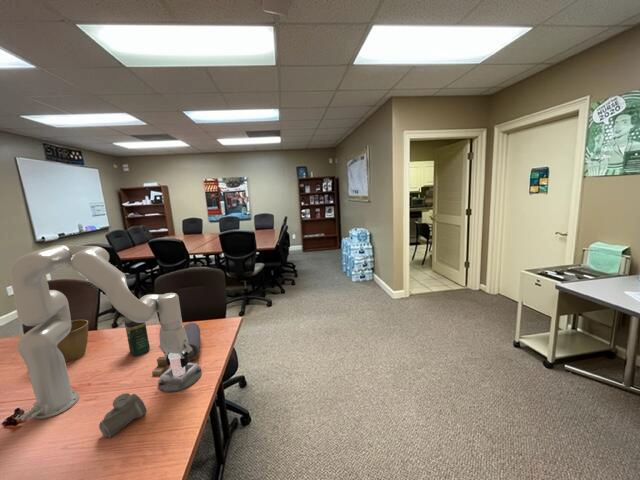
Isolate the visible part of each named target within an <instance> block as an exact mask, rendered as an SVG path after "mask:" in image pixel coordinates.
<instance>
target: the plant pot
mask: <svg viewBox="0 0 640 480" xmlns="http://www.w3.org/2000/svg"><path fill="white" fill-rule="evenodd" d="M88 338H89V320H86V319H75V320H71V331H70V333H69V334H68V335H67V336H66V337H65V338H64V339H63V340H62V341H60V342H59V343H58V344H57V348H58V349H59V350H60V351H61V352H62V354H63V356H64V359H65V362H72V361H76V360H78V359H80V358H82V357H83V356H84V355H85V354H86V351H87V347H88V340H89V339H88Z"/></svg>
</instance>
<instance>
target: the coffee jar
mask: <svg viewBox="0 0 640 480" xmlns="http://www.w3.org/2000/svg"><path fill="white" fill-rule="evenodd" d="M123 321H124V326H125V332H126V337H127V342H128V348H129V353H130V354H131V356H134V357H135V356H141V355H143V354H146V353H147V352H148V351H150V349H151V348H150V341H149V336H148V329H147V324H146V323H147V322H144V323H137V322H134V321H132V320H130V319H128V318H127V317H125V318H124V320H123Z"/></svg>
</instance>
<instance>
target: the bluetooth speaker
mask: <svg viewBox="0 0 640 480" xmlns="http://www.w3.org/2000/svg"><path fill="white" fill-rule="evenodd" d="M183 326H184V328H185V331H186V335H187V339H188V344H189V345H190V346H191V347H192V351H191V352H190V353H189V354H188V355H187V358H188V362H190V361H193V360H194V359H196V358H197V356H198V354H199V352H200V346H201V338H202V337H201V328H200V326H199V324H197V323H196V322H189V323H187V324H185V325H183ZM186 350H187V349H186Z"/></svg>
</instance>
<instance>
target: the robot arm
mask: <svg viewBox="0 0 640 480" xmlns="http://www.w3.org/2000/svg"><path fill="white" fill-rule="evenodd" d="M109 261H110V253H109V252H108V251H107V250H106V249H105V248H103V247H100V246H99V245H98V246H97V245H74V244H73V245H72V244H57V245H52V246H49V247H45V248H42V249H37V250H35V251H32V252H29V253H27V254H24V255H22V256H20V257H18V258H17V259H16V260H15V261H13V262H12V264H11V265H10V268H9V271H8V272H9V273H8V276H9V279H10V283H11V286H12V290H13V297H14V304H15V309H16V314H17V319H18V320H19V321H18V322H20V324H22V325H24V326H26V327H32V328H31V329H29V330H28V331H27V332H25V333H24V334H23V335H22V336H21V337H20V339H19V340H18V343H17V351H18V353H19V354H20V357H21V358H22V359H23V362H24V363H25V366H26V369H27V373H28V376H29V379H30V382H31V386H32V390H33V394H34V397H35V400H36V401H35V402H34V403H33V404H32V408H30V409H29V410H28V411H26V412H24V413H23V414H21V415H20V416H19V418H20V420H21V421H23V422H24V421H25V420H27V419H29V418H30V419H34V418H35V419H38V420H40V419H42V420H43V419H47V418H51V417H55V416H57V415H59V414H62V413H64V412H65V411H67V410H69V409H70V408H72V407H73V406H74V405H75V404H76V403H77V402H78V401H79V399H80V394H79V392H78V391H76V390H75V391H74V390H73V388H72V384H71V380H70V375H69V372H68V368H67V364H66V361H65V359H64V356H63V354H62V352H61V351H60V350H59V349H58V348H57V344H58V343H59V342H60V341H62V340H63V339H64V338H65V337H66V336H67V335H68V334H69V333H70V331H71V321H72V319H71V318H72V317H71V312H70V306H69V305H70V304H69V300H68V298H67V296H66V295H65V294H64V293H63V292H61V291H59V290H56V289H50V286H49V283H48V280H47V279H46V278H45V277H44V276H46V275H47V274H48V275H49V274H52V273H54V272H57V271H59V270H61V269H64V268H72V269H73V270H74V271H75V272H76V273H78V274H79V275H81V276H82V278H84V279H86V280H87V281H89V282H90V283H92V284H93V285H94V286H96V287H97V288H99V289H100V290H102V292H104V293H105V295H106V297H107V299H108V300H109V303H110V304H111V305H112V307H113V308H114V309H115V310H116V311H118V313H120V314H121V315H122V316H124V317H125V318H128V319H130V320H132V321H134V322H137V323H144V322H145V323H147V322H149V321H150V320H151V319H152V318H153V316H154V315H155V314H156V313H158V315H159V324H160V328H159V345H158V348H159V350H160V351H162V353H163V354H164V357H166V359H167V365H168V366H169V365H170V366H171V364H170V360H169V358H168V354H169V353H176V354H180V356H181V359H180V361H181V367H182V368H183V367H184V366H186V365H187V364H188V363H189V361H188V358H187V355H188V354H189V353H190V352H191V351H192V347H191V346H190V345H189V344H188V339H187V335H186V331H185V328H184V326H185V325H183V319H182V313H181V312H182V311H181V305H180V298H179V297H180V296H179V295H178V293H175V292H167V293H164V294H156V293H155V294H145V295H143V296H142V297H140V298H137V296H135V295H134V294H133V293H132V291H131V290H130V289H129V287H128V283H127V277H126V275H125V273H124V272H122V271H121V270H119V269H118V268H117V267H116V266H115V265H113V264H111V262H109ZM186 349H187V350H186ZM183 351H184V354H183V353H182V352H183Z"/></svg>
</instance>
